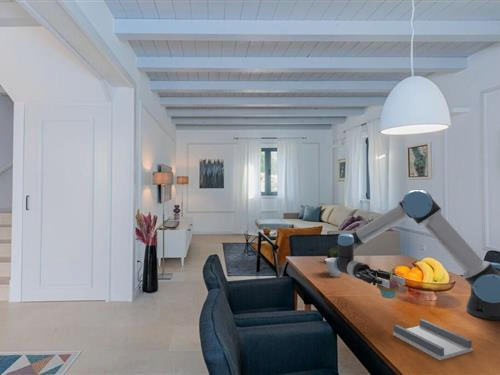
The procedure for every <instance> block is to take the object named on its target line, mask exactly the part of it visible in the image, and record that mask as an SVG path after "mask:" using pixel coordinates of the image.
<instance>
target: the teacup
mask: <svg viewBox="0 0 500 375" xmlns="http://www.w3.org/2000/svg"><path fill="white" fill-rule="evenodd" d="M335 259H336V258H327V257H326V258H325V259H324V261H325V263H326V269H327V270H326V271H327V272H328V273H329V276H330V277H333V278H335V277H340V274H341V273H342V272H340V271H338V270H337V269H336V268H335V266H334V262H335Z"/></svg>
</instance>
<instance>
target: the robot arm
mask: <svg viewBox="0 0 500 375" xmlns="http://www.w3.org/2000/svg"><path fill="white" fill-rule="evenodd" d="M406 219H413V220H414V222H416V224H417V225H419V226H424V228H426V230H427V232H428V233H430V234H431V236H432V237H433V238H434V239H435V241H436V242H438V244H439V245H440V246H441V247H442V248H443V249H444V251H445V252H446V253H447V254H448V255H449V257H450V258H451V259H452V260H453V261H454V263H455V264H457V266H458V267H459V268H460V269H461V271H462V272H463V274H462V277H463V278H464V280H465V281H466V282H467V283H468V284H469V286H470V295H469V298H468V301H467V303H466V305H465V311H466V313H467V314H469V315H470V316H473V317H477V318H479V319H484V320H489V321H500V263H496V262H490V261H486V260H483V259H482V258H481V257H480V256H479V255H478V253H477V252H476V251H475V250H474V249H473V248H472V247H471V246H470V245H469V244H468V242H467V241H466V240H465V239H464V238H463V237H462V236H461V234H460V233H459V232H458V231H457V230H456V229H455V228H454V227H453V226H452V224H450V222H449V221H448V220H447V219H446V218H445V216H444V215H442V207H440V206H439V205H438V204H437V202H436V201H435V200H434V199H433V197H432V196H431V194H430V193H429V192H428V191H426V190H423V189H413V190H410V191H408V192H407V193H406V194H405V195H404V197H403V198H402V199H401V200H399V201H398V203H397V205H396V206H394V207H393V208H391V209H390V210H387V211H386V212H384V213H383V214H381V215H380V216H378V217H376V218H375V219H373V220H371V221H370V222H369V223H366V224H365V225H364V226H362V227H360V228H359V229H357V230H356V231H354V232H352V233H351V234H350V233H340V234H338V236H337V237H338V238H337V245H338V257H337V258H336V259H335V262H334V266H335V268H336V269H337V270H338V271H340V272H341V273H342V274H345V275H348V276H351V277H354V278H355V279H358V280H361V281H363V282H365V283H367V284H372V285H373V286H377V284H379V285H381V286H384V287H387V288H390V281H388V280H386V279H389V280H390V275H391V271H386V270H383V269H380V268H378V269H373V268H371V267H370V266H369V264H366V263H363V262H360V261H358V260H355V255H354V254H355V251H354V250H355V249H357V248H358V247H360V246H362V245H364V244H366V243H368V242H369V241H370V240H373V239H374V238H376V237H377V236H379V235H381V234H382V233H384V232H386V231H388V230H389V229H391V228H393V227H395V226H397V225H398V224H399V223H401V222H403V221H405V220H406ZM392 281H395V282H396V283H397V284H398V285H401V286H406V278H405V277H404V278H403V277H401V276H398V275H397V274H396V273H395V272H393V273H392Z"/></svg>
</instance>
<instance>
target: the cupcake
mask: <svg viewBox="0 0 500 375" xmlns="http://www.w3.org/2000/svg"><path fill="white" fill-rule="evenodd" d="M393 269H394V268H391V270H390V272H391V275H390V280H389V279H385V280H388V281H390V288H387V287H384V286H381V285H379V284H377V283H376V288H377V289H378V290H379V291H380V294H381V297H382V298H383V299H394V298H395V295H396V294H397V291H399V288H400V286H399V285H400V284H398V283H396V282H395V281H392V273H394V270H393Z"/></svg>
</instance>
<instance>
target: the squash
mask: <svg viewBox="0 0 500 375" xmlns="http://www.w3.org/2000/svg"><path fill="white" fill-rule="evenodd" d="M337 257H338V244H337V245H334V246H332V247H330V248H329V249H328V252H327V254H326V259H327V258H337Z"/></svg>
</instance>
